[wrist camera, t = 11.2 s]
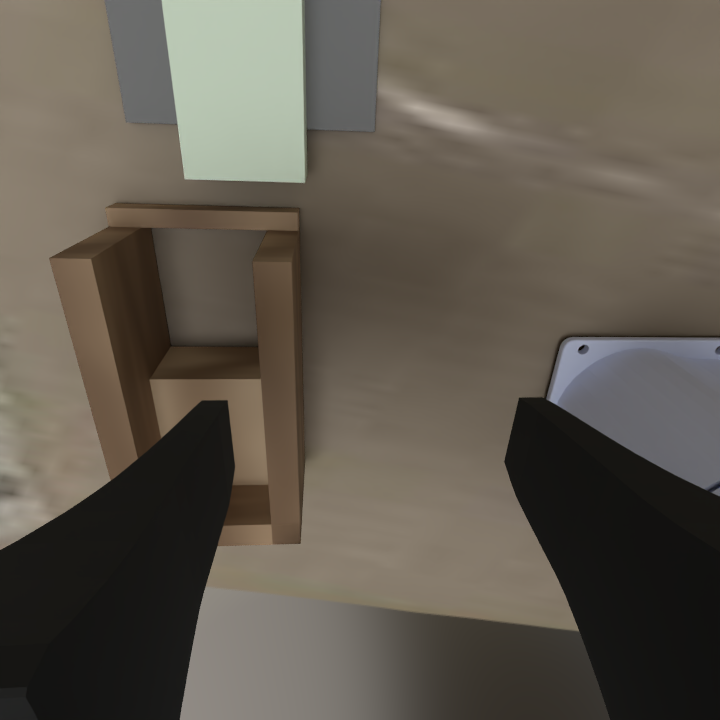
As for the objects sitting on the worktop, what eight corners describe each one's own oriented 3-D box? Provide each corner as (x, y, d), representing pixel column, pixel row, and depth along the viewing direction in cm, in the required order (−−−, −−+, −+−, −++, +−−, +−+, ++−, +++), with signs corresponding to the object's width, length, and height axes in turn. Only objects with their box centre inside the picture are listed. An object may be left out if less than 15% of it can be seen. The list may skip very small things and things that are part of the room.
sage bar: (301, -198, 13) (297, -257, 11) (307, 174, 18) (304, 182, 16) (158, -212, 13) (125, -275, 11) (201, 171, 18) (184, 178, 16)
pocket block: (299, 208, 19) (290, 239, 14) (305, 461, 25) (300, 543, 20) (115, 203, 18) (42, 234, 14) (167, 464, 25) (129, 548, 20)
